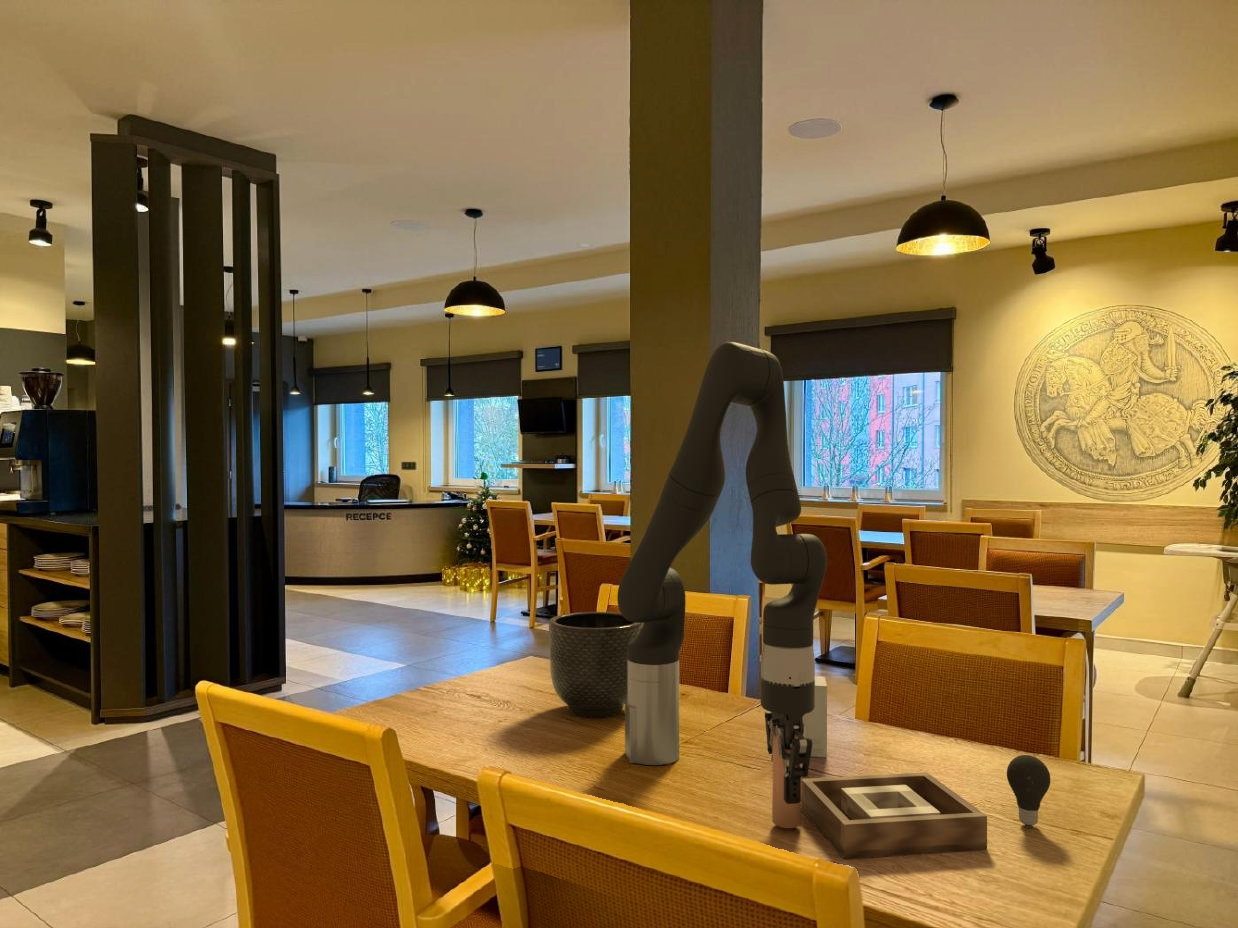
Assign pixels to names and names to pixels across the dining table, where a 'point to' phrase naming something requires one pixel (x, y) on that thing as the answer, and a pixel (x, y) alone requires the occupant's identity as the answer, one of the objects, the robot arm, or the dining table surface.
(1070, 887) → the dining table surface
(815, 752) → the supplement box
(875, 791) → the box
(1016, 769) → the light bulb
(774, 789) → the peg
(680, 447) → the robot arm
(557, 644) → the planter
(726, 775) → the dining table surface
